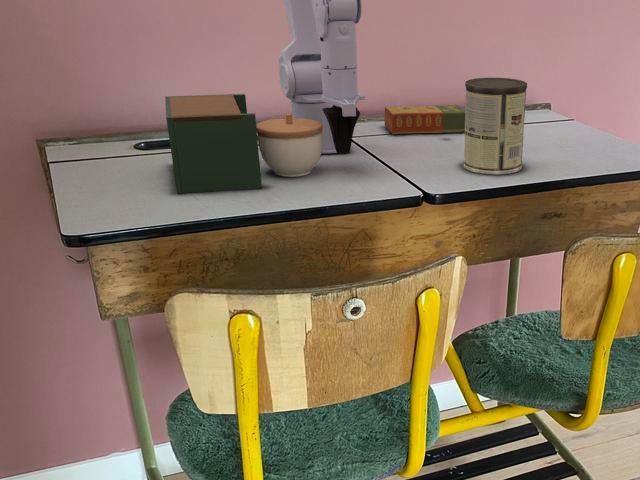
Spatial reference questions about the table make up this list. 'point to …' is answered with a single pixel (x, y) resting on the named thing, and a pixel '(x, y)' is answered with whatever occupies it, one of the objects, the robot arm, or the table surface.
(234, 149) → the cabinet
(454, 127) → the carton
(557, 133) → the table surface
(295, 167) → the trinket box
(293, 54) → the robot arm
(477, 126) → the coffee can
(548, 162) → the table surface
